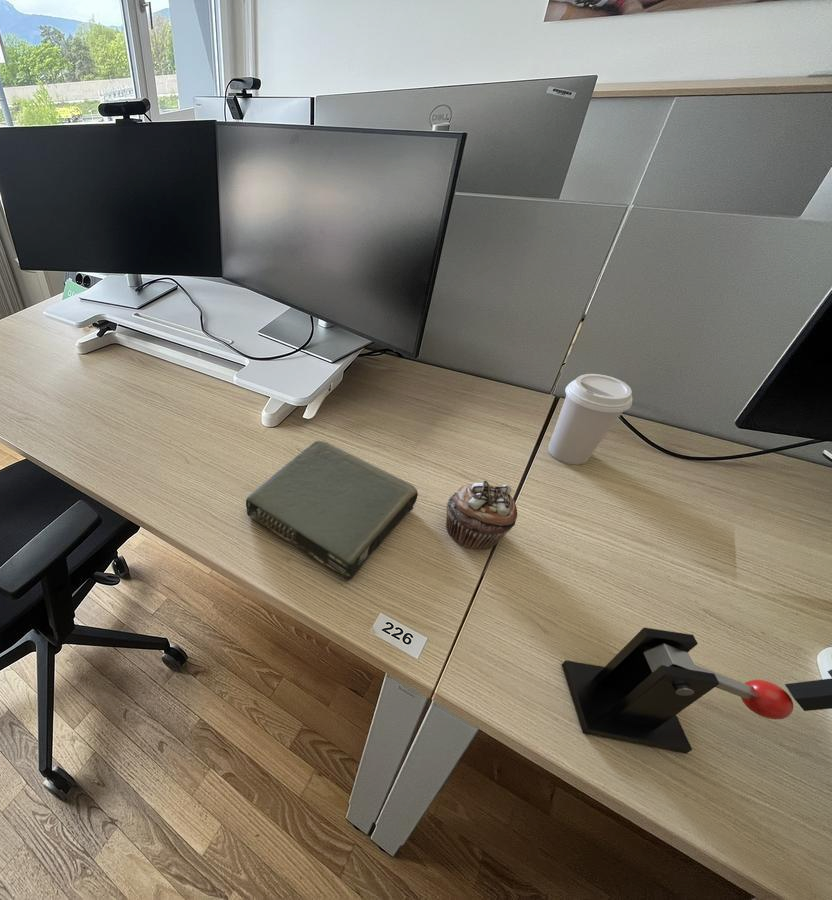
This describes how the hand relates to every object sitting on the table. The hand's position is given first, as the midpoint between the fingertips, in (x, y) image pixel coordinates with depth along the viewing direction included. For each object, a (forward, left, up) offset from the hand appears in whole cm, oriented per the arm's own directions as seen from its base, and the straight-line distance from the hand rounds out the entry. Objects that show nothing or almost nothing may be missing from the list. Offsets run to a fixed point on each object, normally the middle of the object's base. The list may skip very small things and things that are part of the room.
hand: (794, 697), depth 46 cm
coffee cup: (+47, -7, -8) cm, 48 cm away
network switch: (+36, +40, -8) cm, 54 cm away
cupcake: (+30, +18, -8) cm, 36 cm away
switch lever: (+2, +7, -1) cm, 7 cm away
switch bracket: (+3, +12, -8) cm, 15 cm away
